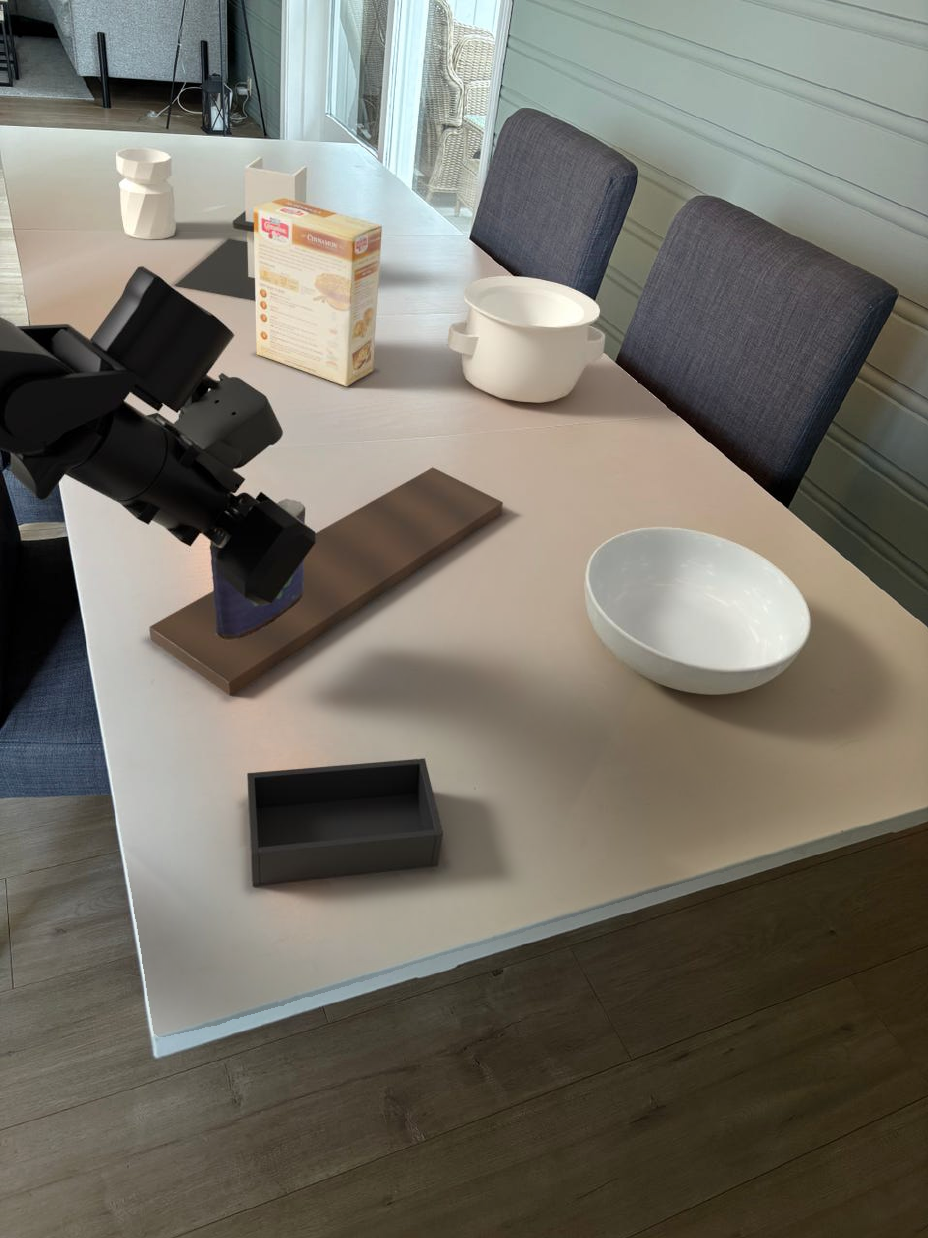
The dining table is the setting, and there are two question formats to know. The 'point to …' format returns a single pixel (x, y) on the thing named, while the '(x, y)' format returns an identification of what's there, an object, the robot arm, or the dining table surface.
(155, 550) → the dining table surface
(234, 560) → the robot arm
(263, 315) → the coffeecake box
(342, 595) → the board
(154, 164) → the vase
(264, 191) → the black and white stand
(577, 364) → the pot
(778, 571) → the serving bowl
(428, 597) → the dining table surface
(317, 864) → the open box
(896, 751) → the dining table surface
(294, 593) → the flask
